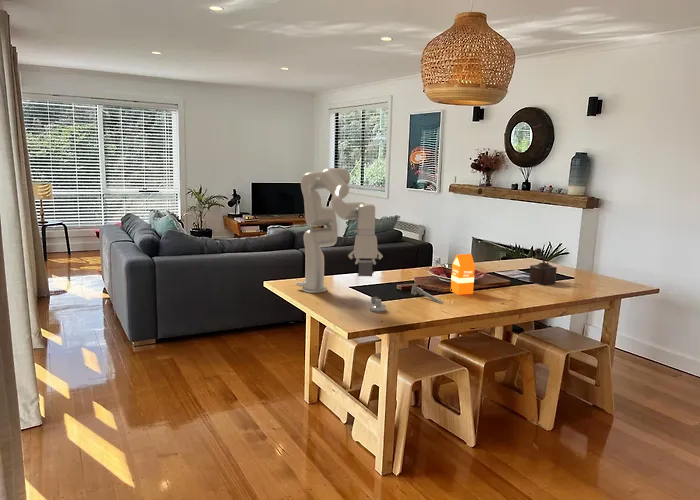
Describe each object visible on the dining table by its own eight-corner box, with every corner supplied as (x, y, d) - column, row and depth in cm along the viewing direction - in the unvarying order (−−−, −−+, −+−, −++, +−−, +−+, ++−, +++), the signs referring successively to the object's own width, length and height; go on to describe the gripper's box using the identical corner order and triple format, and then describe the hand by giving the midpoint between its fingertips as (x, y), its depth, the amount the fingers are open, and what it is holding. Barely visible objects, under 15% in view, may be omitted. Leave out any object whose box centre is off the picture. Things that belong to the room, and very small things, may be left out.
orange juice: (450, 290, 281) (452, 253, 277) (465, 289, 284) (467, 252, 280) (458, 294, 274) (460, 256, 270) (473, 293, 277) (475, 255, 273)
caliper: (411, 295, 272) (411, 283, 271) (412, 294, 273) (413, 282, 272) (441, 304, 257) (442, 291, 256) (443, 304, 257) (443, 291, 256)
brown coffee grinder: (556, 283, 302) (559, 252, 299) (542, 285, 297) (545, 253, 294) (535, 277, 316) (538, 247, 312) (521, 279, 311) (524, 248, 307)
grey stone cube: (358, 276, 237) (358, 262, 236) (357, 273, 243) (358, 260, 242) (372, 276, 237) (372, 262, 236) (371, 273, 243) (371, 260, 242)
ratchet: (370, 312, 240) (371, 301, 239) (366, 299, 261) (367, 289, 260) (386, 312, 241) (386, 302, 240) (381, 299, 261) (381, 289, 260)
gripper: (346, 233, 232) (345, 274, 236) (386, 234, 233) (385, 274, 236) (346, 231, 240) (345, 270, 243) (384, 231, 240) (383, 271, 244)
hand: (365, 272), depth 240 cm, fingers closed on grey stone cube, 6 cm apart
